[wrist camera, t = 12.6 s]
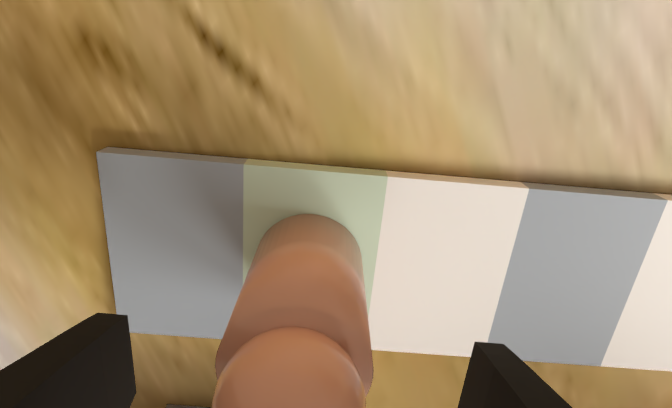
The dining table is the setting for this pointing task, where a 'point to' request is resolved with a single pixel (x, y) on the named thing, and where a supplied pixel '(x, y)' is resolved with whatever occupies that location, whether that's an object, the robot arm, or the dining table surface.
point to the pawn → (298, 323)
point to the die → (183, 406)
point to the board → (401, 254)
